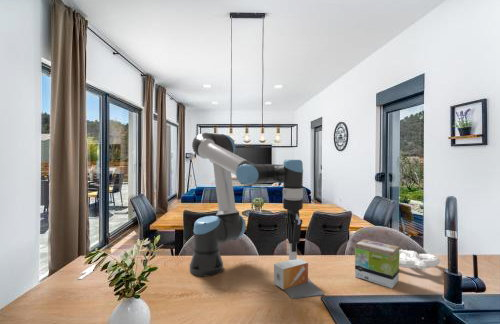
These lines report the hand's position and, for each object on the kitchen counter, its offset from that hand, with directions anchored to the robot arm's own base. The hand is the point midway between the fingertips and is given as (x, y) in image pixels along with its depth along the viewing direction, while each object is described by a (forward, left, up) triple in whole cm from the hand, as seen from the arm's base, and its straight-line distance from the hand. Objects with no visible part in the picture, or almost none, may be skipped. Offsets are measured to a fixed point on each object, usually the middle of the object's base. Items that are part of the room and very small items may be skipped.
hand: (292, 258), depth 102 cm
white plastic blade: (-33, -84, -12) cm, 91 cm away
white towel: (-11, +62, -12) cm, 64 cm away
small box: (-1, -6, -7) cm, 9 cm away
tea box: (0, +38, -12) cm, 40 cm away
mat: (0, +3, -11) cm, 12 cm away
